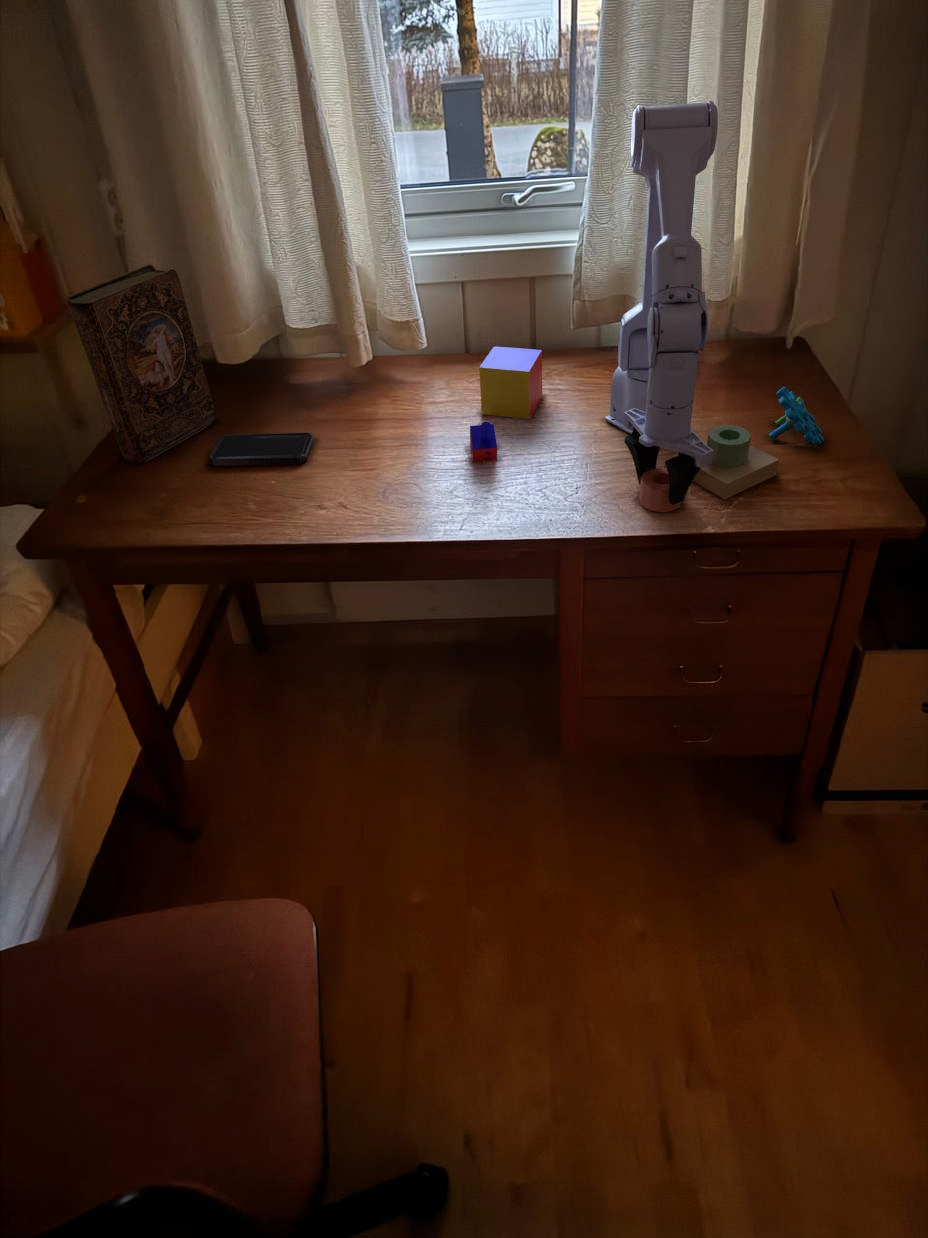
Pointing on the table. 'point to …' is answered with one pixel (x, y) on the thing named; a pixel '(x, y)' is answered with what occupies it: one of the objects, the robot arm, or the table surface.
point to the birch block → (737, 474)
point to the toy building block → (483, 442)
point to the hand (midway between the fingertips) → (660, 491)
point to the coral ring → (656, 491)
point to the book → (144, 360)
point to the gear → (796, 418)
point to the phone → (262, 449)
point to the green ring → (729, 445)
